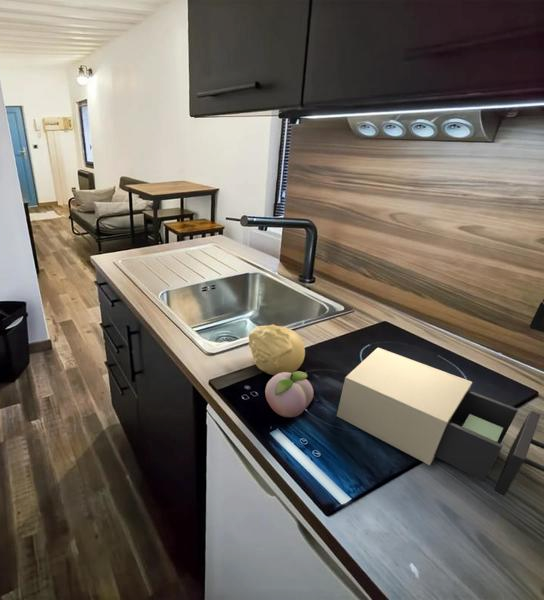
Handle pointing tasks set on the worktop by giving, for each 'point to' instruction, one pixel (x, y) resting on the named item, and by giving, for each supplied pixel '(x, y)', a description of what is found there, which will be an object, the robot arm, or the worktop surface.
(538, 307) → the robot arm
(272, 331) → the tan lumpy ball
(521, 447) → the dark grey drawer
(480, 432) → the block
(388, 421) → the cream rectangular box
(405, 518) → the worktop surface
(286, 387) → the decorative fruit
